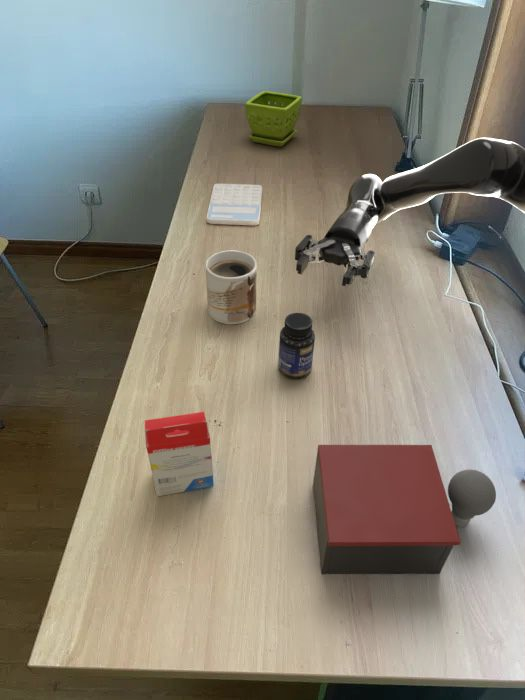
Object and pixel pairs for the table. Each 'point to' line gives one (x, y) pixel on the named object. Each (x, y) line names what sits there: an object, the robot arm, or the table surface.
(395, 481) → the lid
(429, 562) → the gray open box
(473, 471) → the light bulb
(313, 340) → the pill bottle
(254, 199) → the calculator
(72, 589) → the table surface
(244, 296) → the mug
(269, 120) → the flower pot
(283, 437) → the table surface
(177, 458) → the ink box
